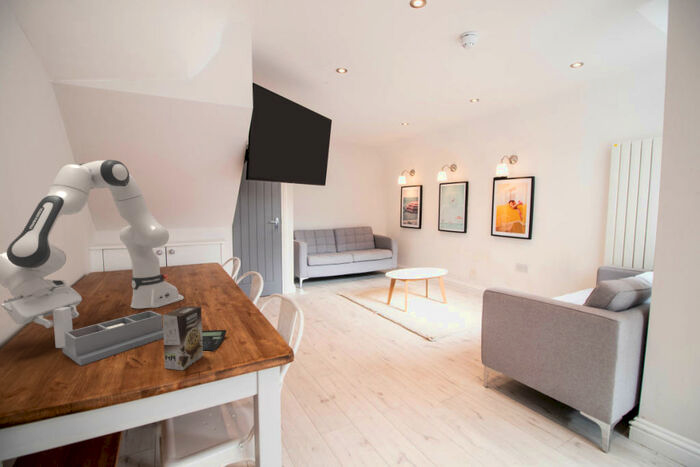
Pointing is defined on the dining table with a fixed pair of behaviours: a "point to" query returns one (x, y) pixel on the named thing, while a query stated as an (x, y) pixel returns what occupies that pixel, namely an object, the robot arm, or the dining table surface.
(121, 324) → the key cream
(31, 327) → the dining table surface
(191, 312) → the coffee box
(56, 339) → the light grey bar
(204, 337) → the calculator
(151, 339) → the keypad
